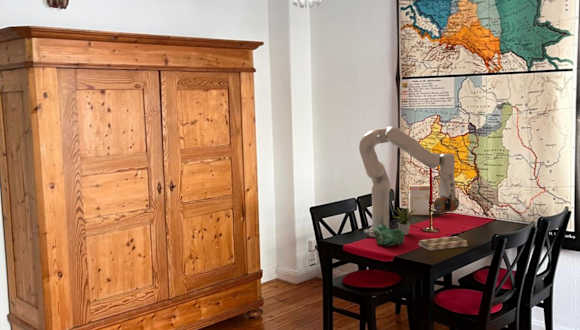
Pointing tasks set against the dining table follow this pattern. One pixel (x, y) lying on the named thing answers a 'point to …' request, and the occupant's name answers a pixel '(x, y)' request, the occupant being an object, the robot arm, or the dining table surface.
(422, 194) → the coffeecake box
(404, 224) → the house plant
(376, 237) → the mineral
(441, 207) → the tin
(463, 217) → the dining table surface
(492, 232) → the dining table surface
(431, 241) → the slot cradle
